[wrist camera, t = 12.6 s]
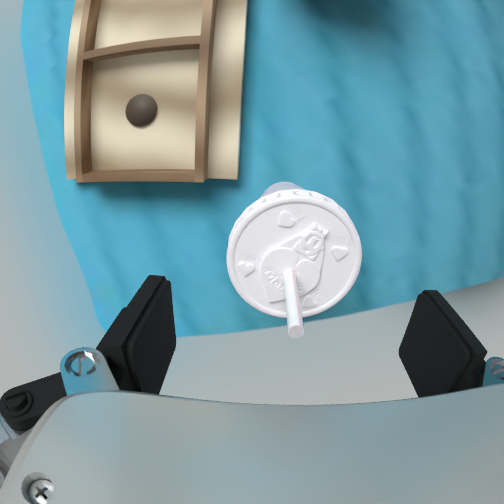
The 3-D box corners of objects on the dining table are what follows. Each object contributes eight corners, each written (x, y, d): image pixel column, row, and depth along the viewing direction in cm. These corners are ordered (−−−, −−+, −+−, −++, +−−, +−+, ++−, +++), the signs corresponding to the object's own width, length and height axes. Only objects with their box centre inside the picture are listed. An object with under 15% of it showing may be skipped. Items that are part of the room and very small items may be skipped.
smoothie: (226, 219, 23) (179, 341, 11) (269, 146, 21) (274, 186, 8) (297, 259, 25) (321, 401, 12) (343, 192, 22) (430, 288, 9)
